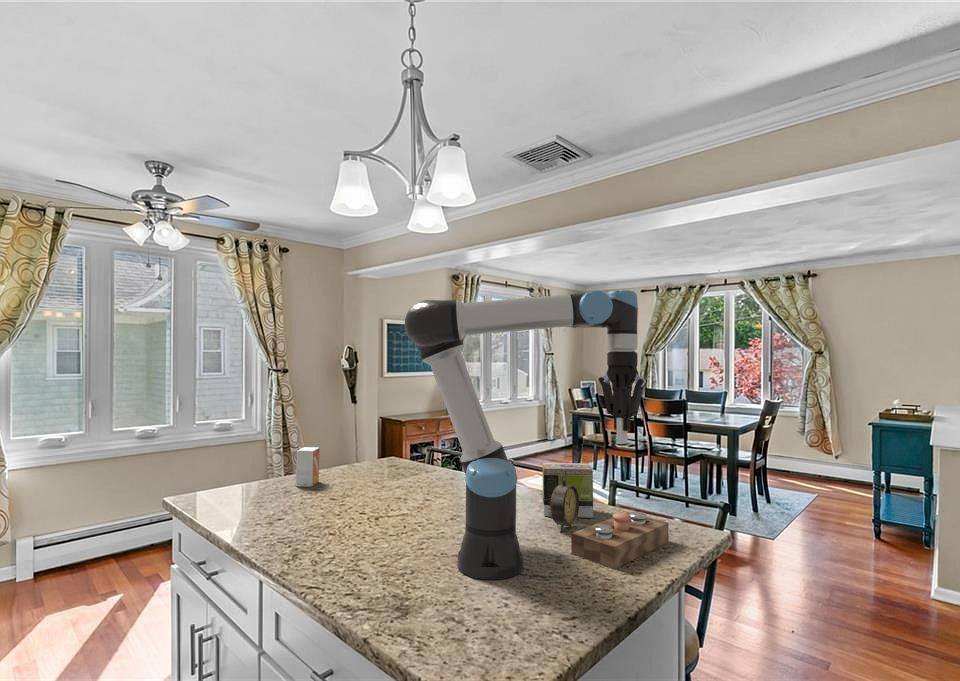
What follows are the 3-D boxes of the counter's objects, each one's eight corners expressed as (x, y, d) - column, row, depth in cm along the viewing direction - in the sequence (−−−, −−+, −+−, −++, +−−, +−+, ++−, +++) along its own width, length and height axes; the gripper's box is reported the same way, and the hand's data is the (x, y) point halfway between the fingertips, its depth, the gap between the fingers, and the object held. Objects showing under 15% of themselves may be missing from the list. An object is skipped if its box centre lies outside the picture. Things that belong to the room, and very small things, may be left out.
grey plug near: (606, 553, 121) (606, 532, 121) (591, 548, 124) (591, 527, 124) (616, 549, 124) (616, 528, 124) (601, 544, 127) (601, 523, 127)
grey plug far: (641, 537, 132) (641, 518, 132) (626, 533, 135) (626, 514, 135) (649, 533, 135) (649, 514, 135) (634, 529, 138) (634, 511, 138)
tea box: (589, 509, 162) (589, 462, 163) (593, 519, 152) (593, 469, 153) (542, 507, 164) (542, 461, 164) (542, 517, 154) (543, 467, 154)
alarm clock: (564, 535, 138) (565, 475, 139) (546, 531, 141) (547, 472, 141) (580, 524, 147) (580, 467, 148) (562, 521, 150) (563, 465, 151)
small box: (312, 487, 185) (313, 450, 186) (295, 486, 185) (296, 450, 186) (319, 481, 193) (320, 446, 194) (302, 481, 193) (303, 446, 194)
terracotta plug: (624, 539, 127) (624, 519, 127) (609, 535, 130) (609, 515, 130) (633, 535, 130) (634, 515, 130) (618, 531, 133) (618, 511, 133)
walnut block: (614, 569, 116) (614, 547, 116) (571, 553, 125) (571, 533, 125) (668, 541, 134) (668, 522, 134) (627, 530, 143) (627, 512, 143)
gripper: (653, 351, 129) (653, 445, 128) (608, 351, 138) (608, 438, 138) (637, 350, 124) (637, 448, 123) (592, 350, 133) (591, 441, 133)
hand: (621, 443), depth 130 cm, fingers closed
